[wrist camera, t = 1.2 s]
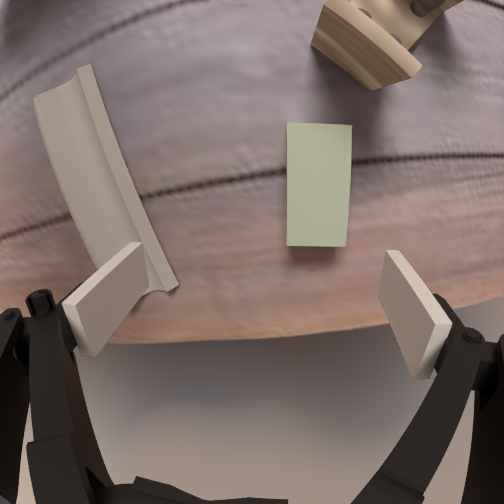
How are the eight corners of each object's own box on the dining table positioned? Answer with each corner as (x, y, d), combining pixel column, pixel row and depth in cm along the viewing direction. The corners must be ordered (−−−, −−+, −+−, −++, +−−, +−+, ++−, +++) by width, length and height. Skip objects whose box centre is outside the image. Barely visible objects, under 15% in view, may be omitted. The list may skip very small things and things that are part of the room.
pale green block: (286, 123, 30) (286, 122, 26) (342, 125, 30) (351, 125, 25) (286, 229, 35) (286, 245, 30) (337, 230, 34) (345, 246, 30)
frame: (392, -34, 20) (427, -80, 9) (443, 9, 21) (495, -20, 10) (310, 44, 26) (323, 4, 15) (368, 92, 27) (411, 77, 16)
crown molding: (180, 281, 40) (171, 295, 37) (114, 298, 43) (103, 311, 39) (93, 64, 29) (77, 62, 26) (35, 110, 31) (18, 112, 28)
